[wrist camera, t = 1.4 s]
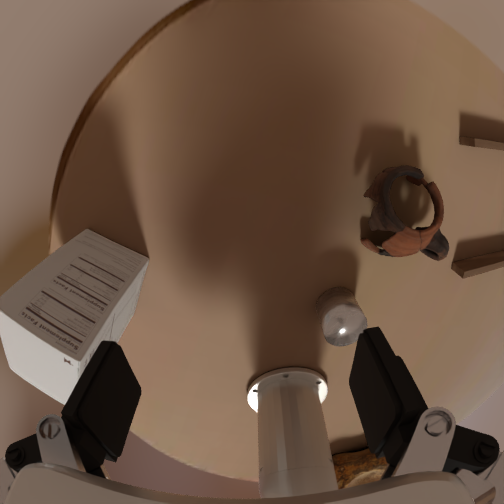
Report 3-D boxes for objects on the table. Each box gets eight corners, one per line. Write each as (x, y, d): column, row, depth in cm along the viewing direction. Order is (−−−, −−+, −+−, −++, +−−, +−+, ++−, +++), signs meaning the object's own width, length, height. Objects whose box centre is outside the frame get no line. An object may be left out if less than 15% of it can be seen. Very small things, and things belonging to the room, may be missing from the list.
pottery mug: (334, 236, 30) (360, 218, 22) (363, 170, 31) (391, 138, 23) (414, 285, 29) (456, 283, 21) (436, 220, 30) (476, 203, 22)
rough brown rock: (411, 430, 51) (429, 471, 37) (378, 462, 56) (390, 500, 42) (338, 435, 49) (351, 488, 35) (309, 467, 54) (315, 512, 40)
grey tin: (352, 316, 33) (365, 341, 29) (315, 323, 34) (323, 349, 29) (354, 284, 32) (369, 307, 27) (315, 290, 32) (324, 315, 27)
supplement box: (86, 225, 28) (-10, 298, 13) (151, 256, 30) (80, 359, 14) (77, 287, 32) (7, 369, 16) (134, 316, 33) (82, 417, 18)
